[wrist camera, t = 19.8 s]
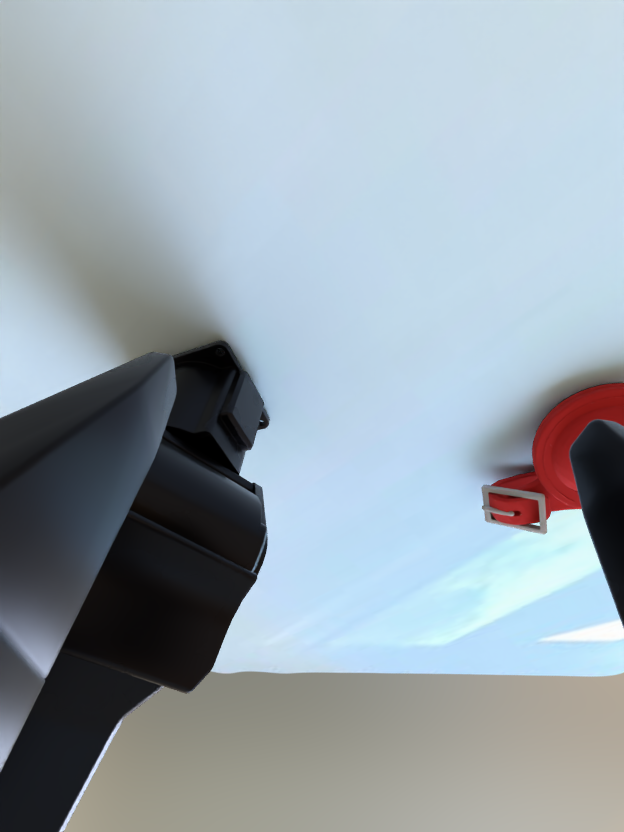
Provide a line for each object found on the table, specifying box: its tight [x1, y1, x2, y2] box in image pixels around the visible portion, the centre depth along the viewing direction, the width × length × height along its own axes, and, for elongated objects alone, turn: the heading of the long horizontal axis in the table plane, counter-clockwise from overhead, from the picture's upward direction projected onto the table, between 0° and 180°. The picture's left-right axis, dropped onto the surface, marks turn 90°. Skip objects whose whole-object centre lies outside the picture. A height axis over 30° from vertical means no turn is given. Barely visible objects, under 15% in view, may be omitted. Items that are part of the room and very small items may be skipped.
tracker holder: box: [482, 383, 624, 534], centre depth 25 cm, size 12×4×10 cm
